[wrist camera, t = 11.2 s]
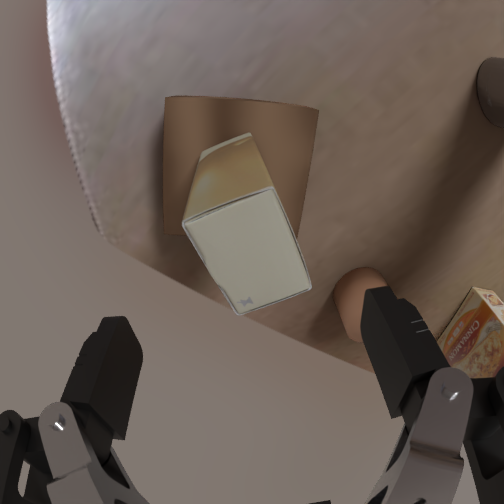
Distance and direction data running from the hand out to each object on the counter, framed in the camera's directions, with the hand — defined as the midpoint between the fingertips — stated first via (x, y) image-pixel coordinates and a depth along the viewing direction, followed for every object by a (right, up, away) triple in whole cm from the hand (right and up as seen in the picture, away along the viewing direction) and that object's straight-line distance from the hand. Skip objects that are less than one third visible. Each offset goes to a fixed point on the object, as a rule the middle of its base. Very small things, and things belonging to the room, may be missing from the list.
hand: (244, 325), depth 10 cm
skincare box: (-1, +9, +14) cm, 17 cm away
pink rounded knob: (+14, -2, +27) cm, 31 cm away
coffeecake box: (+37, -10, +33) cm, 51 cm away
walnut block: (-1, +11, +19) cm, 22 cm away
